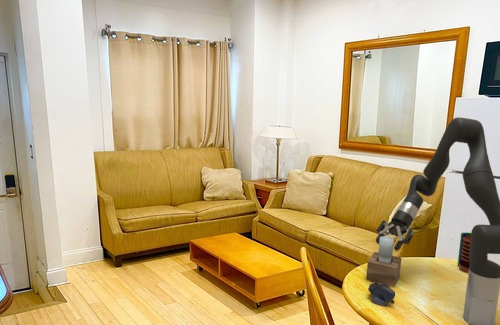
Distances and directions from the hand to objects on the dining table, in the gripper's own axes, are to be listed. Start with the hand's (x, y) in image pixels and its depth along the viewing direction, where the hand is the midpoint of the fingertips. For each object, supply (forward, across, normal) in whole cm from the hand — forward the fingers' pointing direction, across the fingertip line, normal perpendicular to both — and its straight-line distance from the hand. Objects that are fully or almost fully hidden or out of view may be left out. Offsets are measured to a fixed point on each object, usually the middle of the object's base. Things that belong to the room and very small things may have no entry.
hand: (386, 246), depth 156 cm
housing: (+10, 0, +10) cm, 14 cm away
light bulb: (+8, 0, +8) cm, 11 cm away
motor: (-18, +16, +38) cm, 45 cm away
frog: (+22, +11, -2) cm, 24 cm away
